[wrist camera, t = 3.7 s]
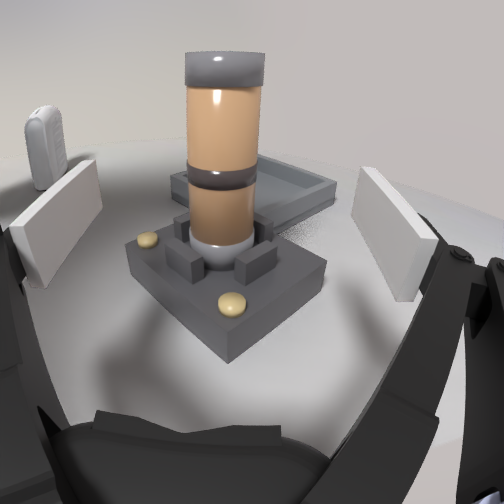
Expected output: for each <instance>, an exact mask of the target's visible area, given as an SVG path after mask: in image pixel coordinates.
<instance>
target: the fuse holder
mask: <svg viewBox="0 0 504 504" xmlns="http://www.w3.org/2000/svg"><path fill="white" fill-rule="evenodd" d="M173 221H174V224H172V225H169V226H167V227H164V228H162V229H160V230H157V231H155V232H144V233H141V234H140V235H138V237H137V239H136V240H134V241H131V242H129V243H127V244H125V247H126V252H127V257H128V262H129V267H130V272H131V275H132V276H133V277H134V278H135V279H136V280H137V281H138V282H139V283H140V284H141V285H142V286H143V287H144V288H145V289H146V290H147V291H148V292H149V293H150V294H151V295H152V296H153V297H154V298H155V299H156V300H157V301H158V302H160V303H161V304H162V305H163V306H164V307H165V308H166V309H167V310H168V311H169V312H170V313H171V314H172V315H173V316H174V317H175V318H176V319H178V320H179V321H180V322H181V323H182V324H183V325H184V326H185V327H186V328H187V329H188V330H190V331H191V332H192V333H193V334H194V335H195V336H196V337H197V338H198V339H200V340H201V341H202V342H203V343H204V344H205V345H206V346H207V347H209V348H210V349H211V350H212V351H213V352H214V353H215V354H217V355H218V356H219V357H220V358H221V359H222V360H224V361H225V362H226V363H227V364H228V363H229V362H231V361H232V360H234V359H235V358H236V357H238V356H239V355H240V354H242V353H243V352H244V351H246V350H247V349H248V348H250V347H251V346H252V345H254V344H255V343H256V342H257V341H259V340H260V339H261V338H263V337H264V336H265V335H267V334H268V333H269V332H270V331H272V330H273V329H274V328H275V327H277V326H278V325H279V324H281V323H282V322H283V321H284V320H286V319H287V318H288V317H289V316H291V315H292V314H293V313H294V312H296V311H297V310H298V309H299V308H300V307H302V306H303V305H304V304H305V303H307V302H308V301H309V300H310V299H311V298H313V297H314V296H315V295H316V294H318V293H319V292H320V290H321V286H322V282H323V277H324V273H325V268H326V264H327V260H325V259H323V258H321V257H319V256H317V255H315V254H313V253H312V252H310V251H308V250H306V249H304V248H302V247H300V246H298V245H296V244H294V243H292V242H290V241H289V240H287V239H285V238H283V237H281V236H279V235H277V234H275V233H273V226H274V221H272V220H270V219H268V218H266V217H264V216H262V215H260V214H258V213H256V212H254V223H253V226H254V247H253V248H251V249H249V250H247V251H245V252H243V253H241V254H240V255H238V256H236V257H235V267H234V270H232V271H211V270H207V269H204V262H203V256H202V255H201V254H199V253H198V252H196V251H195V250H193V249H192V248H190V236H189V228H190V212H189V213H186V214H184V215H181V216H179V217H176V218H174V219H173Z"/></svg>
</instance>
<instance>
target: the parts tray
mask: <svg viewBox="0 0 504 504" xmlns="http://www.w3.org/2000/svg"><path fill="white" fill-rule="evenodd" d="M257 160H258V167H257V180H256V188H255V205H254V212H256V213H258V214H260V215H262V216H264V217H266V218H268V219H270V220H272V221H274V226H273V233H275V234H278V233H280V232H282V231H284V230H286V229H288V228H289V227H291V226H293V225H295V224H297V223H299V222H301V221H303V220H304V219H306V218H308V217H310V216H312V215H314V214H316V213H318V212H319V211H321V210H323V209H325V208H327V207H329V206H331V205H333V203H334V198H335V192H336V186H337V182H336V181H333V180H331V179H328V178H326V177H323V176H320V175H317V174H315V173H312V172H309V171H306V170H303V169H301V168H298V167H295V166H292V165H289V164H286V163H283V162H280V161H277V160H274V159H271V158H268V157H265V156H262V155H259V154H257ZM170 179H171V195H172V199H174V200H175V201H177V202H179V203H181V204H183V205H184V206H186V207H188V208H189V189H188V180H187V171H183V172H180V173H177V174H174V175H170Z"/></svg>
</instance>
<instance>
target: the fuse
mask: <svg viewBox="0 0 504 504" xmlns="http://www.w3.org/2000/svg"><path fill="white" fill-rule="evenodd" d="M264 61H265V54H264V53H255V52H233V51H206V52H187V53H185V85H186V86H187V180H188V189H189V211H190V228H189V236H190V248H192V249H193V250H195V251H196V252H198V253H199V254H201V255H202V256H203V262H204V269H207V270H211V271H232V270H234V267H235V257H236V256H238V255H240V254H241V253H243V252H245V251H247V250H249V249H251V248H253V247H254V226H253V223H254V205H255V188H256V180H257V167H258V160H257V153H258V136H259V118H260V101H261V86H263V78H264Z"/></svg>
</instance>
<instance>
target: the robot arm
mask: <svg viewBox="0 0 504 504" xmlns="http://www.w3.org/2000/svg"><path fill="white" fill-rule="evenodd" d="M102 209H103V205H102V199H101V193H100V187H99V180H98V173H97V166H96V160H83V161H82V162H80V163H79V164H78V165H77V166H75V167H74V168H73V169H72V170H70V171H69V172H68V173H67V174H65V175H64V176H63V177H62V178H61V179H59V180H58V181H57V182H56V183H55V184H54V185H52V186H51V187H50V188H49V189H48V190H47V191H45V192H44V193H43V194H42V195H41V196H40V197H39V198H38V199H37V200H35V201H34V202H33V203H32V204H31V205H30V206H29V207H28V208H27V209H26V210H25V211H24V212H23V213H22V214H21V215H19V216H18V217H17V218H16V219H15V220H14V221H13V222H12V223H11V224H10V225H9V227H8V228H7V229H6V230H5V231H4V232H3V231H2V228H1V225H0V504H402V502H403V501H404V499H405V497H406V495H407V493H408V491H409V489H410V487H411V486H412V484H413V482H414V480H415V478H416V476H417V474H418V472H419V470H420V468H421V466H422V463H423V461H424V459H425V457H426V455H427V452H428V450H429V448H430V446H431V443H432V441H433V438H434V436H435V434H436V431H437V428H438V425H439V417H437V416H435V413H436V410H437V407H438V404H439V402H440V399H441V396H442V393H443V391H444V388H445V385H446V382H447V379H448V376H449V373H450V369H451V366H452V363H453V360H454V356H455V353H456V349H457V346H458V342H459V338H460V334H461V330H462V326H463V322H464V337H465V359H466V399H465V420H464V434H463V445H462V454H461V462H460V470H459V476H458V484H457V492H456V504H504V260H503V259H501V258H497V257H494V258H491V259H490V261H489V264H488V266H487V268H486V267H483V266H479V265H476V264H475V261H474V258H473V257H472V255H471V254H469V253H468V252H467V251H466V250H464V249H462V248H460V247H457V246H454V245H448V243H447V242H446V241H445V240H444V239H443V237H442V236H441V235H440V234H439V233H438V232H437V230H436V229H435V228H434V227H432V224H431V223H430V222H429V221H428V220H427V219H426V218H424V217H423V216H422V215H420V214H419V213H416V212H415V210H414V209H413V208H412V207H411V206H410V205H409V204H408V203H407V201H406V200H405V199H404V198H403V197H402V196H401V195H400V194H399V193H398V192H397V191H396V190H395V188H394V187H393V186H392V185H391V184H390V183H389V182H388V181H387V180H386V179H385V178H384V177H383V176H382V175H381V174H380V173H379V172H378V171H377V170H376V169H375V168H372V167H364V166H361V167H360V172H359V177H358V182H357V188H356V193H355V198H354V202H353V207H352V212H351V217H352V218H353V220H354V222H355V224H356V225H357V227H358V229H359V231H360V233H361V234H362V236H363V238H364V240H365V242H366V244H367V246H368V247H369V249H370V251H371V253H372V255H373V257H374V259H375V261H376V263H377V265H378V266H379V268H380V270H381V272H382V274H383V276H384V278H385V280H386V282H387V284H388V286H389V288H390V290H391V292H392V294H393V297H394V299H395V301H396V302H413V301H414V299H415V297H416V295H417V292H418V290H419V289H420V291H421V293H422V295H423V298H422V300H421V302H420V304H419V306H418V308H417V310H416V312H415V315H414V317H413V320H412V322H411V324H410V326H409V328H408V330H407V332H406V334H405V336H404V338H403V340H402V342H401V344H400V346H399V348H398V350H397V352H396V354H395V356H394V357H393V359H392V361H391V363H390V365H389V367H388V369H387V370H386V372H385V374H384V376H383V378H382V379H381V381H380V383H379V384H378V386H377V388H376V390H375V391H374V393H373V395H372V396H371V398H370V400H369V401H368V403H367V405H366V406H365V408H364V409H363V411H362V413H361V414H360V416H359V417H358V419H357V420H356V422H355V423H354V425H353V426H352V428H351V429H350V431H349V432H348V434H347V435H346V437H345V438H344V440H343V441H342V442H341V444H340V445H339V447H338V448H337V449H336V451H335V452H334V453H333V455H332V456H331V457H330V459H329V458H328V457H327V456H325V455H324V454H322V453H321V452H320V451H318V450H316V449H314V448H313V447H311V446H309V445H306V444H304V443H302V442H299V441H296V440H293V439H289V438H285V437H281V425H275V426H242V425H232V426H227V427H222V428H216V429H210V430H204V431H198V432H191V433H180V432H177V431H174V430H171V429H168V428H165V427H162V426H160V425H157V424H154V423H152V422H149V421H146V420H144V419H141V418H139V417H134V416H128V415H122V414H116V413H110V412H105V411H100V410H97V411H96V414H95V418H94V422H86V423H81V424H77V425H74V426H70V424H69V422H68V421H67V418H66V416H65V414H64V412H63V409H62V407H61V405H60V402H59V400H58V397H57V395H56V392H55V389H54V387H53V384H52V382H51V379H50V376H49V373H48V370H47V367H46V365H45V362H44V359H43V355H42V352H41V349H40V346H39V343H38V339H37V336H36V332H35V329H34V325H33V321H32V318H31V314H30V310H29V305H28V301H27V297H26V292H25V288H24V286H23V284H22V280H23V279H24V277H25V276H27V279H28V281H29V284H30V286H31V287H32V288H41V289H46V287H47V286H48V284H49V283H50V281H51V280H52V278H53V277H54V275H55V274H56V272H57V271H58V269H59V268H60V266H61V265H62V263H63V262H64V260H65V259H66V257H67V256H68V254H69V253H70V252H71V250H72V249H73V247H74V246H75V245H76V243H77V242H78V240H79V239H80V238H81V236H82V235H83V234H84V232H85V231H86V230H87V228H88V227H89V226H90V224H91V223H92V222H93V220H94V219H95V218H96V216H97V215H98V214H99V213H100V211H101V210H102Z"/></svg>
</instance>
